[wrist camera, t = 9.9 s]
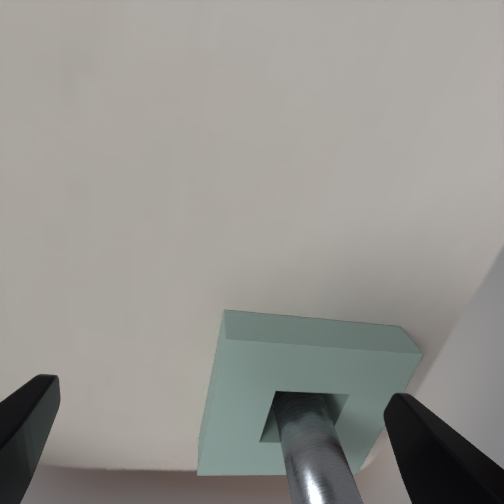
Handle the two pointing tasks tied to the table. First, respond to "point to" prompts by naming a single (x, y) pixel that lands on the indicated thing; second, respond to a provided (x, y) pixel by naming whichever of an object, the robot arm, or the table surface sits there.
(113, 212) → the table surface
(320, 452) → the peg
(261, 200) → the table surface
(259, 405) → the socket block
